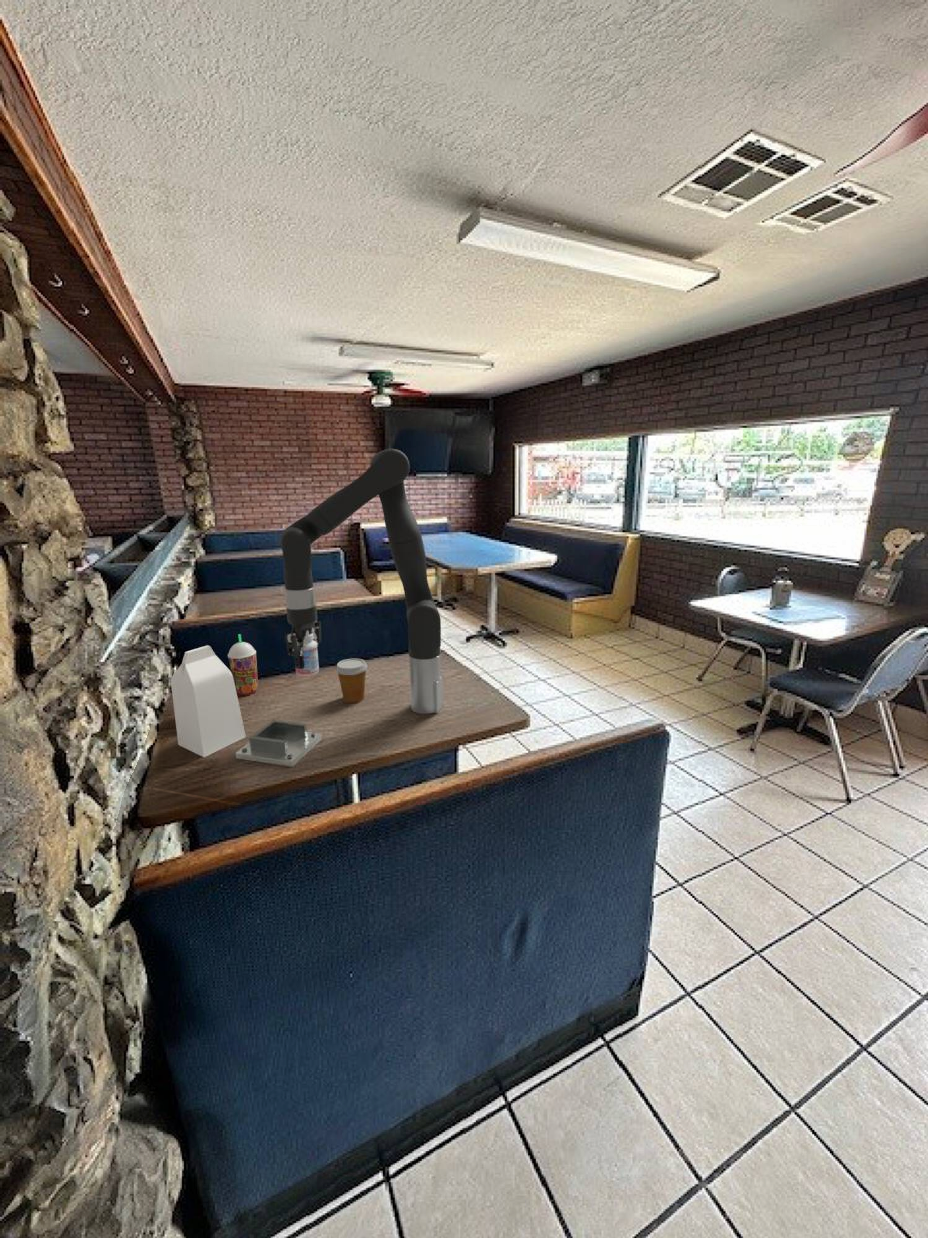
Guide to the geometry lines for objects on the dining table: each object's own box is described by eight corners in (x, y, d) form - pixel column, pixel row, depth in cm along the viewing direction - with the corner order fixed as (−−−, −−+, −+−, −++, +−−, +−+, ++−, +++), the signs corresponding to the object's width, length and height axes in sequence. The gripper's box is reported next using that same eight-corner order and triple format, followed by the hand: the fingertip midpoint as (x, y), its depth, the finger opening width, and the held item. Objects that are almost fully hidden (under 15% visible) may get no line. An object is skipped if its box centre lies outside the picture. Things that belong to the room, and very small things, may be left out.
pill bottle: (291, 675, 138) (287, 636, 134) (306, 667, 143) (302, 629, 140) (310, 678, 135) (306, 638, 132) (323, 670, 141) (320, 631, 138)
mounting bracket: (322, 738, 136) (320, 721, 135) (292, 766, 123) (290, 748, 122) (269, 731, 140) (267, 715, 139) (236, 758, 127) (233, 740, 126)
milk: (204, 757, 128) (187, 660, 121) (178, 745, 134) (161, 652, 127) (245, 737, 138) (233, 646, 131) (220, 726, 144) (206, 639, 137)
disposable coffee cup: (365, 705, 156) (363, 669, 152) (335, 705, 156) (331, 669, 153) (372, 692, 165) (369, 657, 162) (342, 692, 165) (340, 657, 162)
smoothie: (234, 700, 160) (225, 640, 155) (232, 690, 167) (224, 632, 162) (262, 695, 164) (255, 635, 158) (259, 685, 171) (252, 629, 165)
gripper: (298, 612, 126) (304, 675, 131) (327, 598, 140) (332, 656, 144) (272, 610, 128) (279, 672, 133) (303, 597, 141) (309, 654, 146)
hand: (307, 663), depth 138 cm, fingers closed on pill bottle, 6 cm apart
